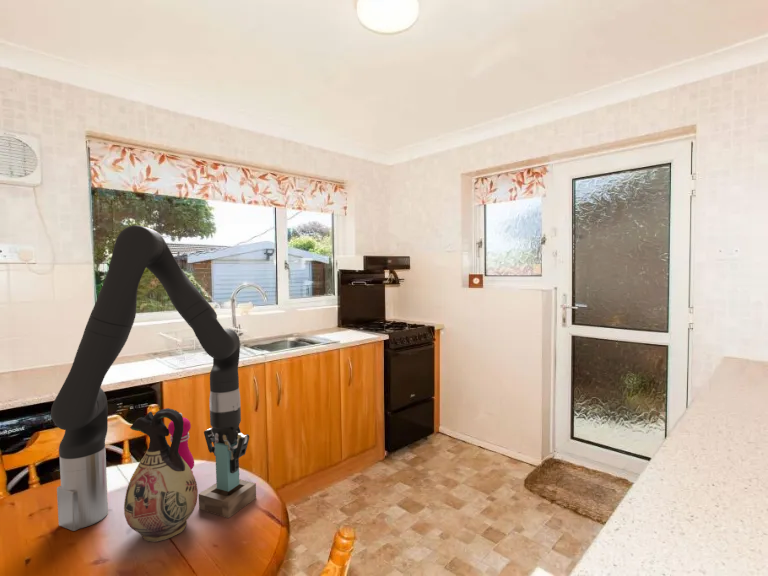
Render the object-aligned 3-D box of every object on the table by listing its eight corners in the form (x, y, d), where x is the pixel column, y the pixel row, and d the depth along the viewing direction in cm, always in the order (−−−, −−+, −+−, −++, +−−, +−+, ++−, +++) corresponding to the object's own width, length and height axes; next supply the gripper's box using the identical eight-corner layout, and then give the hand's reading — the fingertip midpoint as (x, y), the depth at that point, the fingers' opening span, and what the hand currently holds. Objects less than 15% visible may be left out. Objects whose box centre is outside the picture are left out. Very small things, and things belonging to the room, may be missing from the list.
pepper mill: (184, 487, 119) (181, 418, 118) (161, 485, 120) (159, 416, 119) (200, 474, 126) (197, 409, 125) (178, 472, 127) (176, 408, 126)
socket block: (228, 518, 104) (228, 502, 104) (199, 509, 108) (198, 494, 108) (256, 497, 113) (255, 483, 113) (227, 490, 117) (227, 476, 117)
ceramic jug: (108, 550, 93) (102, 417, 91) (155, 509, 108) (151, 395, 106) (178, 556, 90) (173, 420, 89) (217, 514, 106) (213, 397, 104)
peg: (228, 491, 108) (226, 446, 107) (216, 488, 109) (215, 443, 109) (239, 484, 111) (238, 440, 111) (228, 481, 113) (226, 437, 112)
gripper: (193, 407, 109) (196, 471, 110) (235, 414, 103) (238, 482, 104) (215, 398, 116) (218, 459, 116) (256, 405, 110) (258, 468, 111)
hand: (227, 469), depth 110 cm, fingers closed on peg, 4 cm apart
